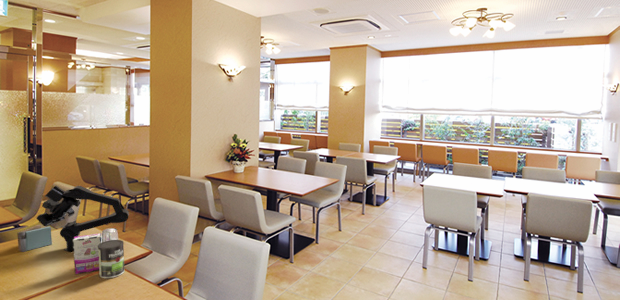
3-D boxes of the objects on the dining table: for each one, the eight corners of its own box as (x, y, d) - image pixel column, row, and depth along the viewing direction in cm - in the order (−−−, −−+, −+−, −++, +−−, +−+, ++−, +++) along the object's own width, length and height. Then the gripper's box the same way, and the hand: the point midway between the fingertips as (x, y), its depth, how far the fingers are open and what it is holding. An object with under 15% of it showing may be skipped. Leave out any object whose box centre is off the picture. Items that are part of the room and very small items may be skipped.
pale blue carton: (46, 242, 195) (45, 224, 193) (24, 252, 181) (22, 233, 180) (39, 242, 195) (38, 224, 194) (16, 252, 182) (15, 232, 181)
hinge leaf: (52, 244, 191) (50, 227, 190) (22, 252, 181) (20, 234, 180) (50, 243, 193) (49, 226, 192) (20, 251, 182) (19, 233, 181)
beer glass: (122, 258, 178) (120, 229, 176) (109, 263, 171) (107, 233, 170) (112, 255, 181) (111, 227, 179) (99, 260, 174) (98, 231, 172)
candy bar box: (103, 265, 169) (101, 232, 167) (103, 269, 165) (101, 236, 163) (76, 270, 164) (73, 236, 162) (74, 274, 160) (72, 240, 158)
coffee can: (129, 271, 164) (128, 242, 162) (107, 280, 155) (105, 250, 153) (116, 266, 169) (115, 237, 167) (94, 274, 160) (92, 245, 158)
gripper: (68, 190, 192) (51, 209, 195) (38, 199, 174) (20, 219, 177) (82, 205, 193) (65, 223, 195) (54, 216, 174) (35, 236, 177)
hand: (47, 225), depth 186 cm, fingers closed
